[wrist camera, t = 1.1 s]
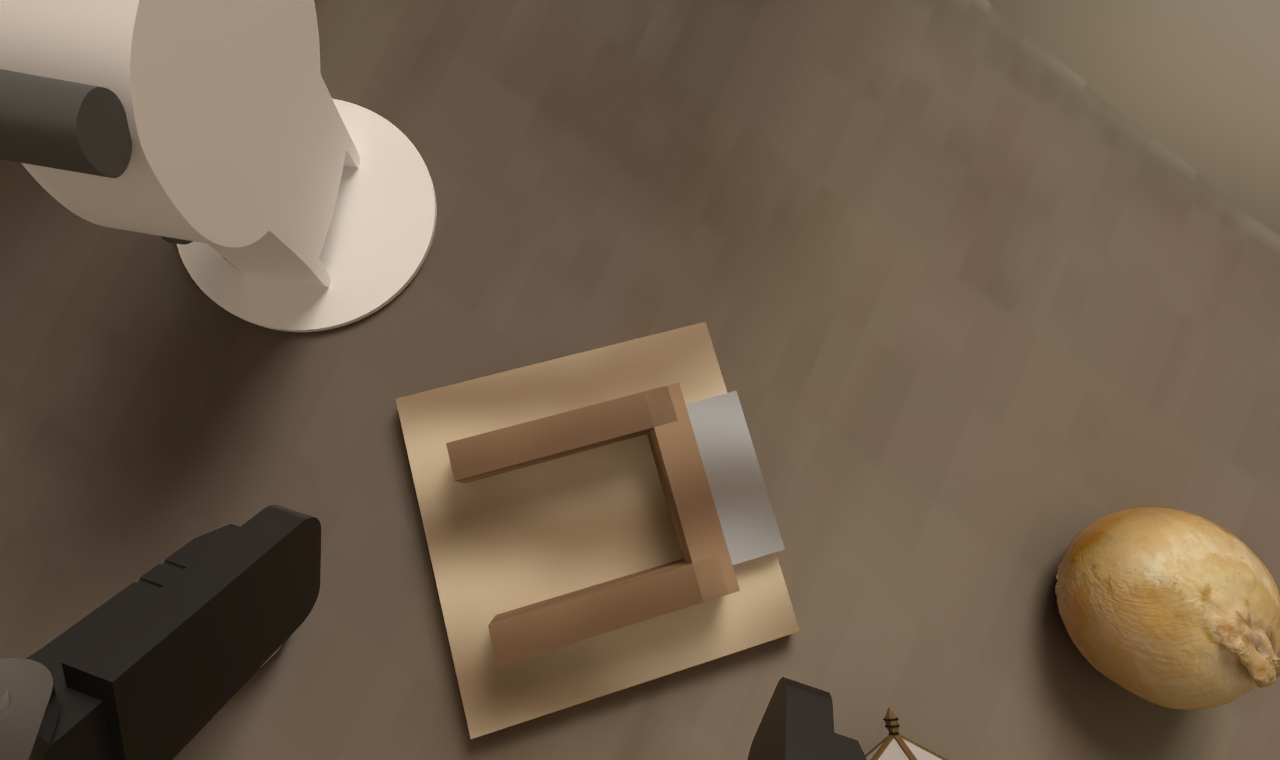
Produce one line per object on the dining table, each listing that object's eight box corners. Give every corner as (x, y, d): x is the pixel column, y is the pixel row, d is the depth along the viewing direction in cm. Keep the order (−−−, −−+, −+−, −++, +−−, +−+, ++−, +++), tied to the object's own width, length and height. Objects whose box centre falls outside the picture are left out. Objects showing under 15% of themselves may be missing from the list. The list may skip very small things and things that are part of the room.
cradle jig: (401, 402, 29) (378, 388, 26) (705, 326, 31) (721, 304, 28) (474, 731, 27) (460, 763, 24) (796, 625, 29) (826, 641, 26)
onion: (997, 613, 30) (1123, 645, 23) (1076, 473, 32) (1217, 463, 25) (1141, 723, 30) (1313, 787, 23) (1214, 576, 32) (1395, 594, 25)
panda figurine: (219, 69, 31) (-91, -318, 17) (460, 113, 32) (366, -220, 17) (146, 309, 29) (-294, 103, 14) (408, 350, 30) (249, 195, 15)
